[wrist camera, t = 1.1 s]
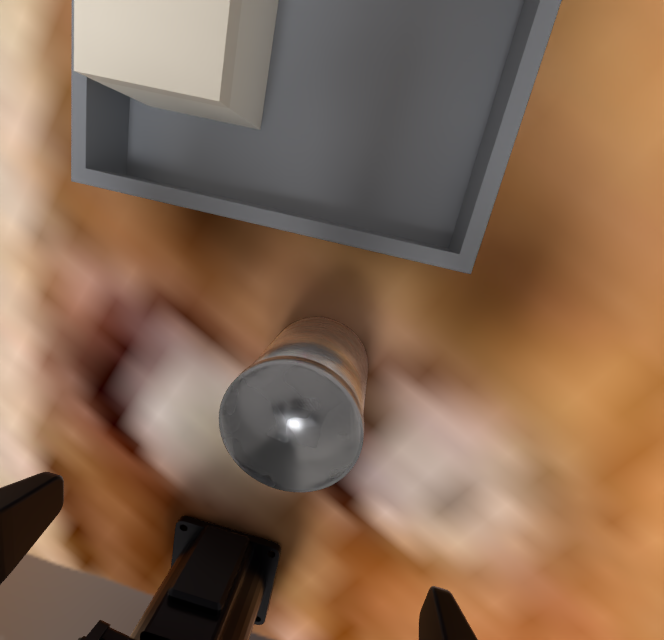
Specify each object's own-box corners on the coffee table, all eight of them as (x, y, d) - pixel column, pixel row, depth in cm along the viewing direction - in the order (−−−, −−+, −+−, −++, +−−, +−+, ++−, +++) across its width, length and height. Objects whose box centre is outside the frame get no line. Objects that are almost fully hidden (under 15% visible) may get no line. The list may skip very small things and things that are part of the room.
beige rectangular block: (260, 129, 15) (219, 101, 12) (149, 106, 16) (73, 70, 12) (284, -46, 14) (246, -147, 10) (159, -68, 14) (74, -174, 10)
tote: (455, 264, 16) (470, 273, 13) (122, 187, 17) (71, 180, 15) (575, -116, 12) (632, -215, 10) (138, -183, 14) (72, -289, 11)
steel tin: (356, 421, 19) (344, 508, 13) (261, 395, 20) (211, 470, 14) (381, 329, 18) (380, 383, 12) (278, 303, 18) (229, 344, 12)
